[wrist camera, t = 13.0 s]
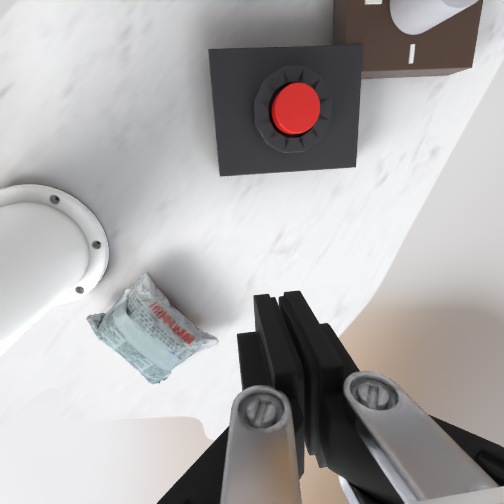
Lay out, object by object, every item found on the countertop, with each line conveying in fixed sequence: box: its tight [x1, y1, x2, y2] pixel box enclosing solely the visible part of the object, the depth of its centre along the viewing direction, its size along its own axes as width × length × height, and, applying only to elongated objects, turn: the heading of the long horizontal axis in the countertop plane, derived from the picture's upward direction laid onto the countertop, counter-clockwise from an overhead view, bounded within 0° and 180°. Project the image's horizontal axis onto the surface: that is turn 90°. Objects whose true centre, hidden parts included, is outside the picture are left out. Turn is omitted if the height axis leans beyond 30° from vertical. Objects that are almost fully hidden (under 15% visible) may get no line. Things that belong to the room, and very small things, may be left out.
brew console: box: [333, 0, 483, 79], centre depth 26 cm, size 12×10×3 cm
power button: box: [271, 83, 320, 134], centre depth 24 cm, size 4×4×2 cm
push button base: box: [209, 45, 363, 176], centre depth 27 cm, size 13×10×5 cm
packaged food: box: [86, 271, 219, 384], centre depth 32 cm, size 9×12×5 cm
